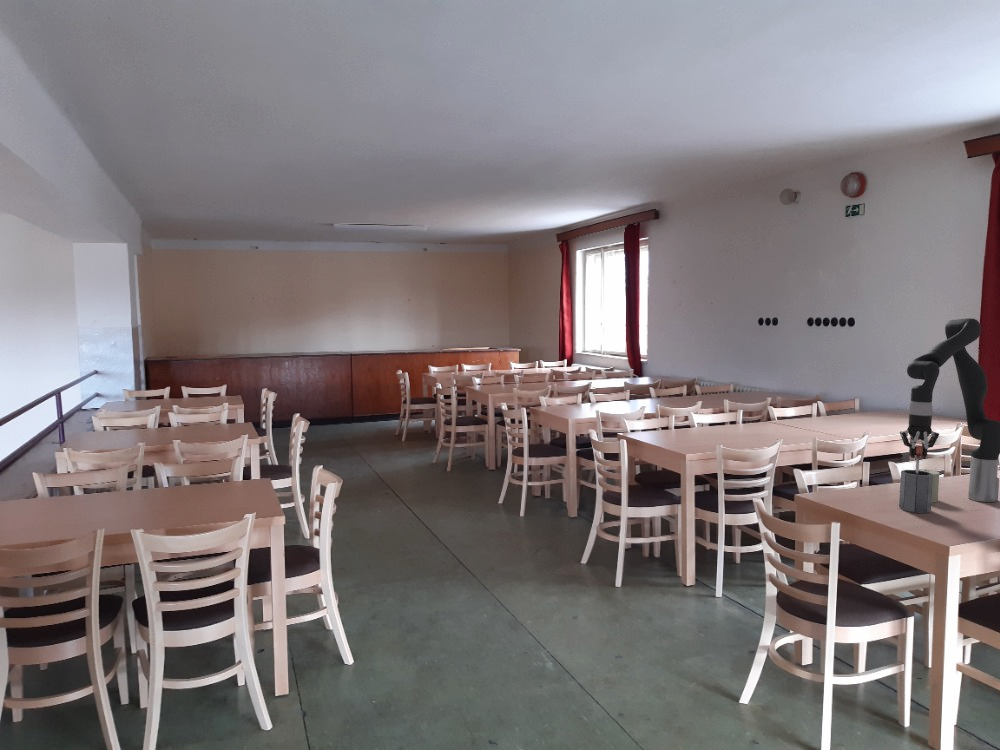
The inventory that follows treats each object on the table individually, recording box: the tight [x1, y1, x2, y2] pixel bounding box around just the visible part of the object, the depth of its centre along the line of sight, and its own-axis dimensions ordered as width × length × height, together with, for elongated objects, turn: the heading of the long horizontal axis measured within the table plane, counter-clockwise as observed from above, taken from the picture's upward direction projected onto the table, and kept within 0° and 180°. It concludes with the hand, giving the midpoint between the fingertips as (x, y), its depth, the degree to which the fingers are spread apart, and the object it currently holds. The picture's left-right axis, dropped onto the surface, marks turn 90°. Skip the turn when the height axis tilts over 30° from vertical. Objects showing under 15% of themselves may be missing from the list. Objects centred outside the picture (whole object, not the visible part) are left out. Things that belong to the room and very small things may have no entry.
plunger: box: [915, 444, 923, 475], centre depth 277 cm, size 7×7×20 cm
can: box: [919, 468, 940, 503], centre depth 293 cm, size 9×9×12 cm
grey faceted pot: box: [898, 469, 933, 514], centre depth 279 cm, size 10×12×14 cm
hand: (917, 457), depth 276 cm, fingers closed on plunger, 3 cm apart
